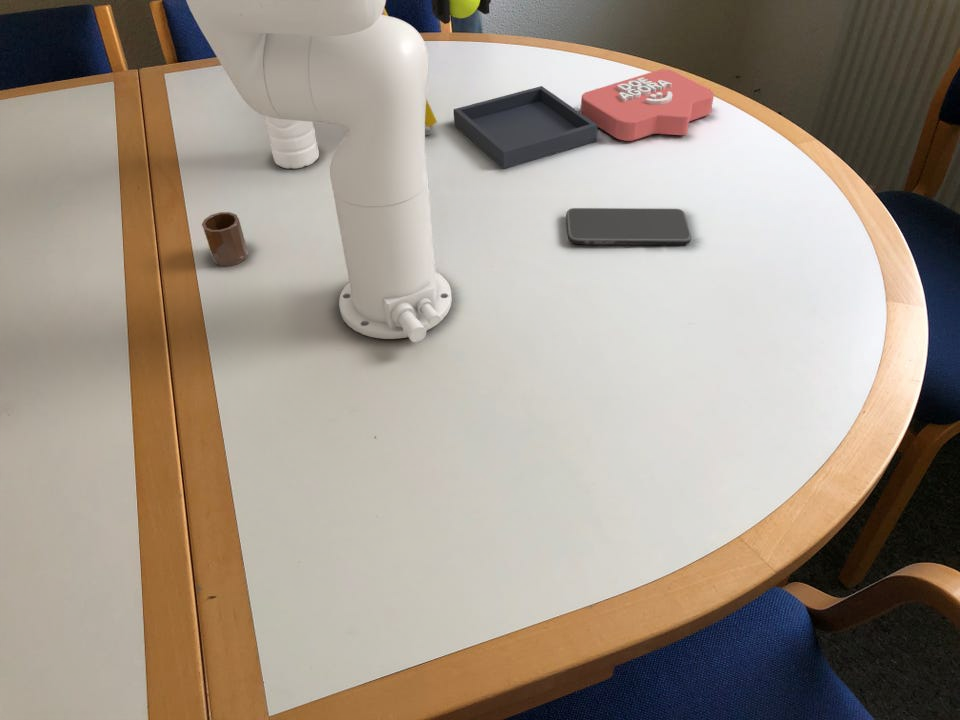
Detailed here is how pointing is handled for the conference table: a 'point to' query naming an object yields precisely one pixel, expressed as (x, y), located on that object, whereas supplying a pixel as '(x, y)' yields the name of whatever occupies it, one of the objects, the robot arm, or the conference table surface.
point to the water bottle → (292, 142)
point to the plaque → (647, 105)
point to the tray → (524, 126)
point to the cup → (225, 238)
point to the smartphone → (627, 226)
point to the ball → (463, 7)
